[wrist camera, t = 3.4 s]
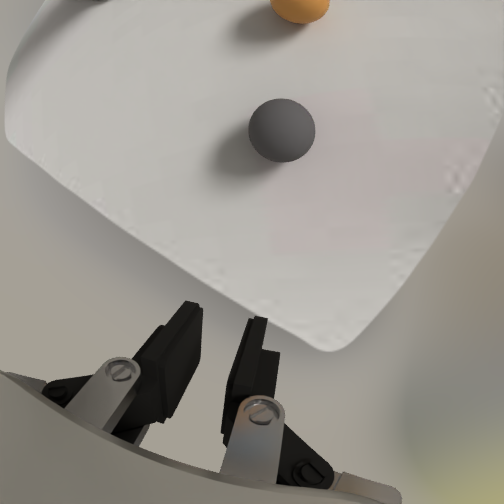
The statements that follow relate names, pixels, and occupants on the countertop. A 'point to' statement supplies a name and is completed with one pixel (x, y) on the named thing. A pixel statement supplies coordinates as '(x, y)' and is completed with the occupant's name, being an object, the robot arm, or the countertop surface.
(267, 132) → the dark gray ball
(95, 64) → the countertop surface
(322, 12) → the object ball
